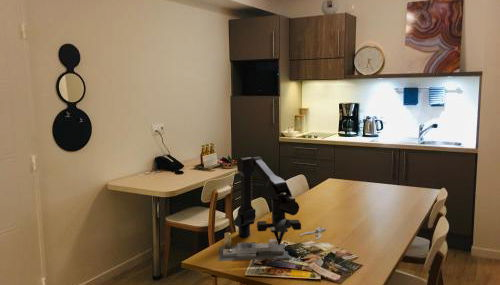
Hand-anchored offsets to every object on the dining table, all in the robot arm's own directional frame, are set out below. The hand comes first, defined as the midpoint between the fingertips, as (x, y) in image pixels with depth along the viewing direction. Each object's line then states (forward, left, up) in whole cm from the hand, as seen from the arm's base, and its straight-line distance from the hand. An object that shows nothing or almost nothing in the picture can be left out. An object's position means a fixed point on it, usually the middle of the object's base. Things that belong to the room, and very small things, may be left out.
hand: (279, 244), depth 178 cm
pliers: (-23, +21, -5) cm, 31 cm away
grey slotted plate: (0, -11, -4) cm, 12 cm away
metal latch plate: (0, -10, -2) cm, 10 cm away
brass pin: (-7, -22, -4) cm, 24 cm away
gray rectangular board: (-2, -11, -4) cm, 12 cm away
